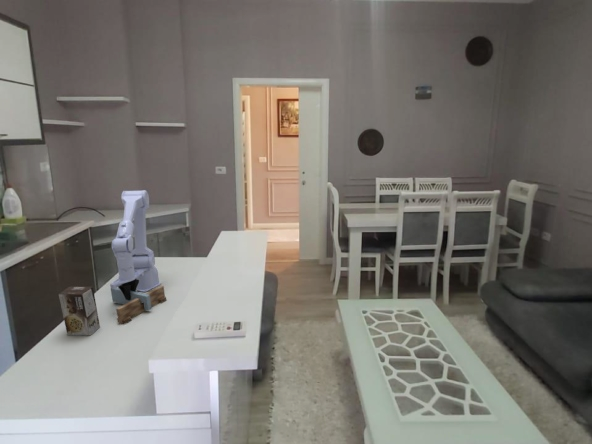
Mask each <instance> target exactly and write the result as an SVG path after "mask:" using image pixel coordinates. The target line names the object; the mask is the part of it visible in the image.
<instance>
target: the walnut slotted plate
mask: <svg viewBox="0 0 592 444" xmlns="http://www.w3.org/2000/svg"><path fill="white" fill-rule="evenodd" d="M145 294H148V295H150V301H151V308H153V307H154V306H156V305H158V304H163V303H164V302H166V301H167V297H166V295H165V294H166V293H165V287H164V285H158V286H156V287H154V288H152V289H151V290H149V291H147V292H145ZM115 309H116V315H117V318H116V321H117V323H118V324H120V325H126V324H128V323H130V322H131V321H132V319H134V318H135V317H137V316H139V315H140V314H142V313H144V312H146V311H147V310H145V308H144V303H140V299H139V298H136V299H134V300H132V301H130V302H128V303H126V304H121V305H120V306H118V307H117V308H115ZM138 314H139V315H138Z"/></svg>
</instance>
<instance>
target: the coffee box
mask: <svg viewBox="0 0 592 444" xmlns="http://www.w3.org/2000/svg"><path fill="white" fill-rule="evenodd" d="M58 297H59V302H60V307H61V312H62V317H63V321H64V325H65V331H66V335H67V336H91V335H93V334H94V333H95V332H96V331H97V330H99V328H100V327H101V324H100V319H99V313H98V307H97V302H96V297H95V291H94V286H81V285H80V286H77V285H76V286H72V285H71V286H68V287H67V288H65V289H63V291H61V292H60V293H58Z"/></svg>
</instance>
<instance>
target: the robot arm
mask: <svg viewBox="0 0 592 444" xmlns="http://www.w3.org/2000/svg"><path fill="white" fill-rule="evenodd" d="M120 196H121V202H122V205H123V207H124V211H123V218H122V221H120V222H119V224H118V228H117V232H116V236H115V238H114V239H113V240H112V241H111V250H112V252H113V254H114V255H113V256H114V257H115V258H116V263H117V271H118V278H117V279H116V280H115V281H113V282H111V283H110V285H109V287H110V290H111V289H116V288H119V289H120V290H121V291H122V293H123V295H124V297H125V299H126V300H131V295H130V291H134V292H138V291H139V292H140V293H148V292H149V291H151V290H153V289H155V288H157V287H159V286H161V284H162V283H160V280H159V279H160V277H159V271H158V269H157V267H156V266H155V264H156V259H155V254H154V253H155V252H154V251H153V250H152V249H150V248H149V247H148V246H147V245H148V244H147V222H146V221H147V217H146V216H147V215H146V213H147V210H149V209H150V196H149V192H148V191H147V190H146V189H143V190H122V193H121V195H120ZM133 236H134V238H133Z"/></svg>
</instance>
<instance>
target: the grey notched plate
mask: <svg viewBox="0 0 592 444" xmlns="http://www.w3.org/2000/svg"><path fill="white" fill-rule="evenodd" d="M110 293H111V298H112V299H111V300H112V302H113V303H116V304H120V305H124V304H126V303H128V302H130V301H132V300H134V299H136V298H139V299H140V303H144V308H145V310H146V311H148V312H149V311H150V310H152V308H153V307H151V301H150V295H148V294H146V293H144V292H140V291H139V292H138V291H136V292H134V291H130V295H131V300H126V299H125V297H124V295H123V293H122V291H121V290H120V289H119V288H118V287H117V288H116V289H111V288H110Z"/></svg>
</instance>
